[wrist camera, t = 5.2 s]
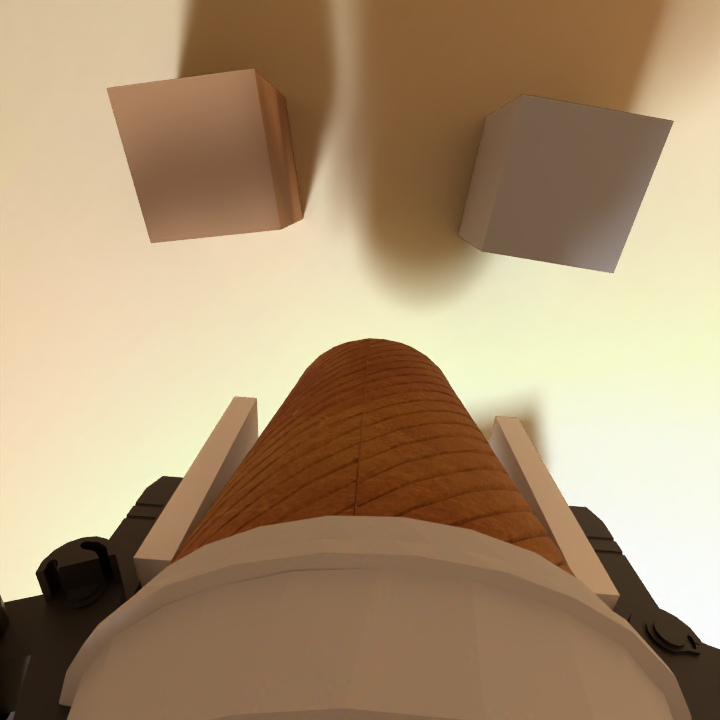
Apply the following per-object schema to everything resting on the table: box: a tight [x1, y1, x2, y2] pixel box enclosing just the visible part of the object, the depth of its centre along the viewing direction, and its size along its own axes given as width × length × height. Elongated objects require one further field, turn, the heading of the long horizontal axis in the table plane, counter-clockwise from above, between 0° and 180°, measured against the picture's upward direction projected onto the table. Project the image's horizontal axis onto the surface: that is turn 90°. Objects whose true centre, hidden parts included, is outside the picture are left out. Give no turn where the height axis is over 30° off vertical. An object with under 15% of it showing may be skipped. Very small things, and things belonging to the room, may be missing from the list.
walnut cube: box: [107, 68, 303, 243], centre depth 17 cm, size 5×5×5 cm
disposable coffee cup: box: [59, 338, 691, 720], centre depth 11 cm, size 10×10×12 cm
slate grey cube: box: [458, 94, 674, 273], centre depth 17 cm, size 5×5×5 cm
